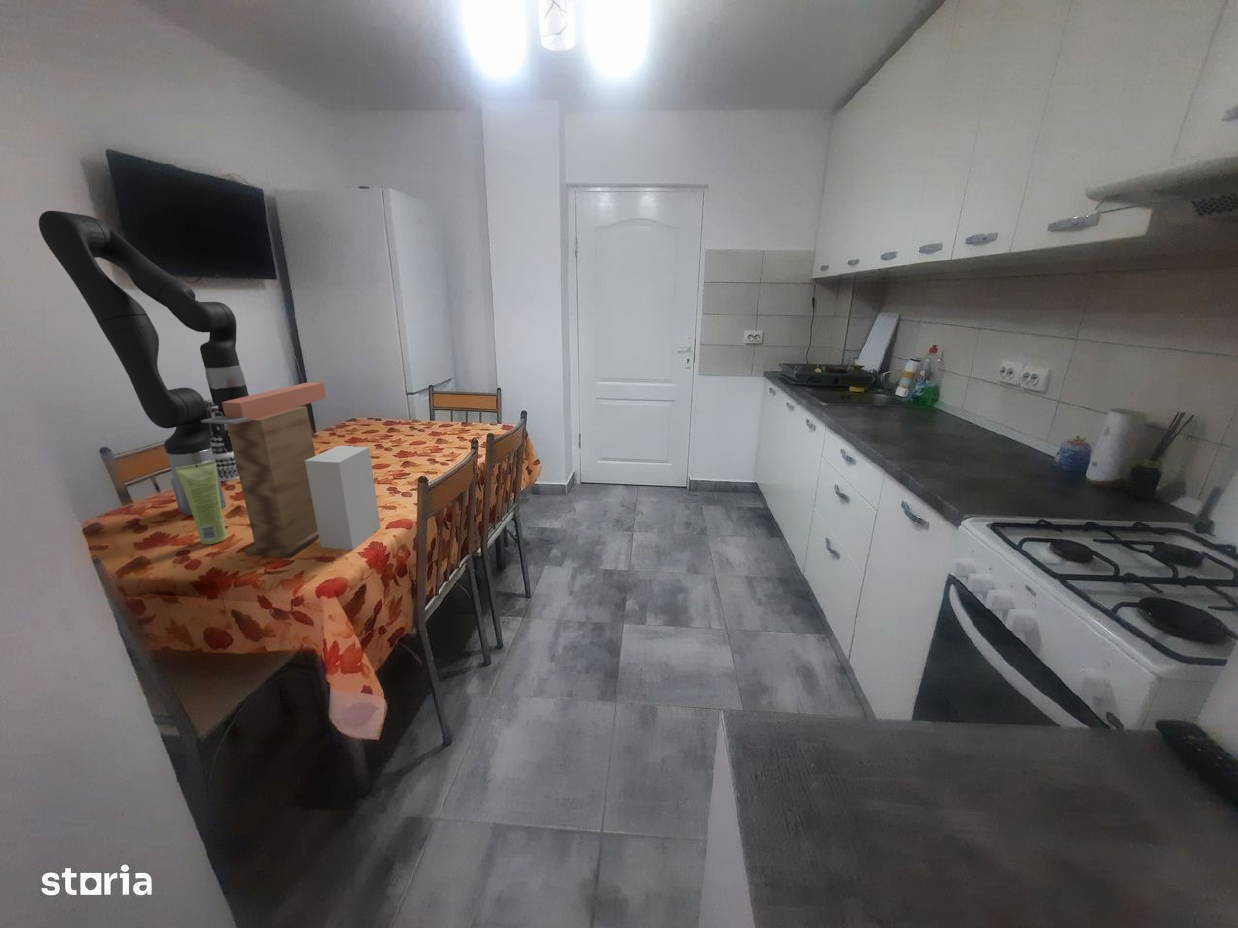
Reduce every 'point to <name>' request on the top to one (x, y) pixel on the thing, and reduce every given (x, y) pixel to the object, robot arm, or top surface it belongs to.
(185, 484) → the tube
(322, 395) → the scraper
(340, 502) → the light grey rectangular block
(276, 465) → the stand
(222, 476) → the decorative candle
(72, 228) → the robot arm
